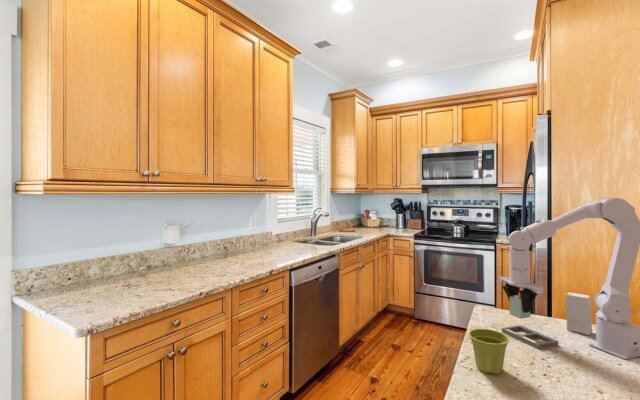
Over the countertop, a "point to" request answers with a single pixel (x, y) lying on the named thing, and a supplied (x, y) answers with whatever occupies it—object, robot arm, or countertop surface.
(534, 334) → the dock
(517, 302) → the plug
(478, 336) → the plant pot
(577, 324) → the skincare box
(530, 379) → the countertop surface
